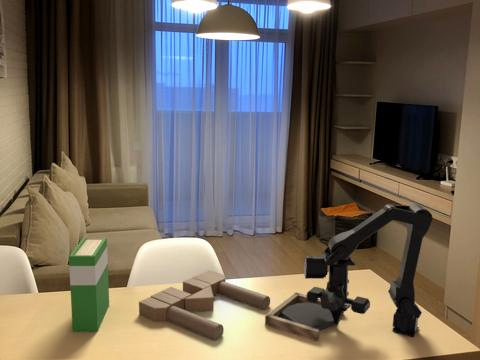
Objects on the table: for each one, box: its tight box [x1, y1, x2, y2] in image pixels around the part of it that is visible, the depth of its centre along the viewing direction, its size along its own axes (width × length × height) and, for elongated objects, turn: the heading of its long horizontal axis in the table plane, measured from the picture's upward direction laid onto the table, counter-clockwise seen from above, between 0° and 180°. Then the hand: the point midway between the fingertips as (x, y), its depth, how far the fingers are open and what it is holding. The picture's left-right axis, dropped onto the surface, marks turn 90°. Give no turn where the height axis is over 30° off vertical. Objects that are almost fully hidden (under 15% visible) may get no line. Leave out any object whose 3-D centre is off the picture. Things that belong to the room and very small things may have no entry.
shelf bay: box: [264, 292, 329, 342], centre depth 161 cm, size 18×21×3 cm
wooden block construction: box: [138, 269, 271, 341], centre depth 166 cm, size 35×6×29 cm
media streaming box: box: [281, 303, 336, 332], centre depth 160 cm, size 15×15×3 cm
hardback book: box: [68, 236, 110, 333], centre depth 157 cm, size 18×7×24 cm, turn 3°
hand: (336, 325), depth 155 cm, fingers closed
